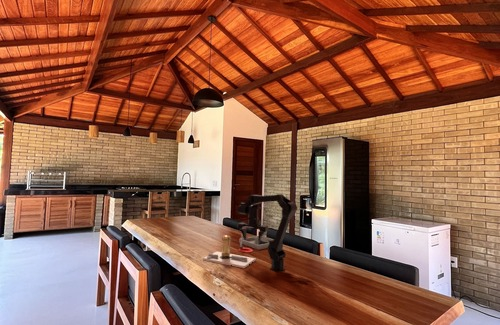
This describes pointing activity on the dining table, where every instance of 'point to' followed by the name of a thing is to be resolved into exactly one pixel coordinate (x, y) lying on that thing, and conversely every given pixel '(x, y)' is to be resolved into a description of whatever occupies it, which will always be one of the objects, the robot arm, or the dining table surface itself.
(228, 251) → the tan gold domed cylinder
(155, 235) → the dining table surface
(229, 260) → the plate
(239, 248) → the tow hook
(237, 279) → the dining table surface
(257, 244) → the metal bracket
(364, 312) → the dining table surface
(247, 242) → the parts tray
